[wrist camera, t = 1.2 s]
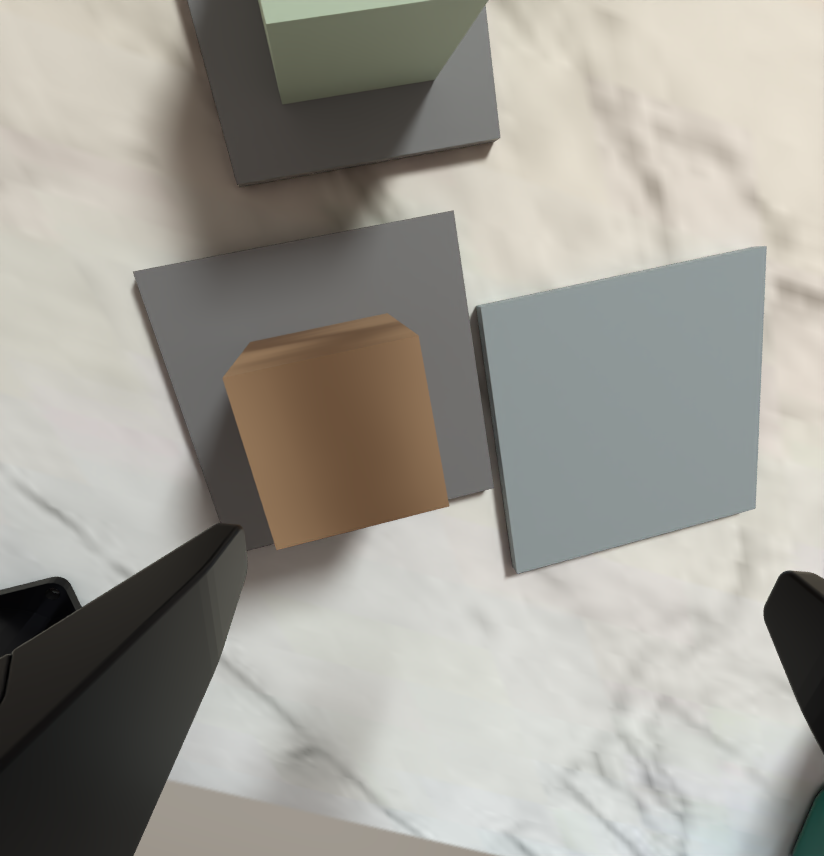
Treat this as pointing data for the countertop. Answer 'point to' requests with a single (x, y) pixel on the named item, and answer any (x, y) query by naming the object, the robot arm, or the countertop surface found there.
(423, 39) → the sage block
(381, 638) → the countertop surface
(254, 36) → the code tile
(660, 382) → the slate mat
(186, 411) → the code tile
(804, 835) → the pitcher
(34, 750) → the robot arm
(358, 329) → the walnut block
